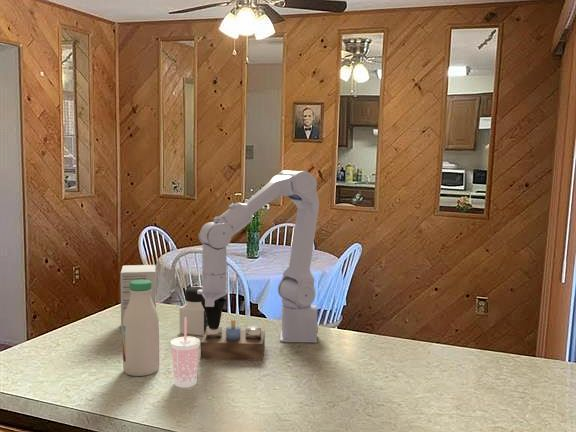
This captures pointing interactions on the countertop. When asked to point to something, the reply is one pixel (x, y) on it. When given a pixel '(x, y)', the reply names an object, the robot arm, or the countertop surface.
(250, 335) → the knob
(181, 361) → the beverage cup
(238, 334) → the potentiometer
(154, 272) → the supplement box
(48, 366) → the countertop surface
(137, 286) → the milk bottle
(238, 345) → the mount
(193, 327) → the medicine bottle
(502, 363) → the countertop surface
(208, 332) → the knob
